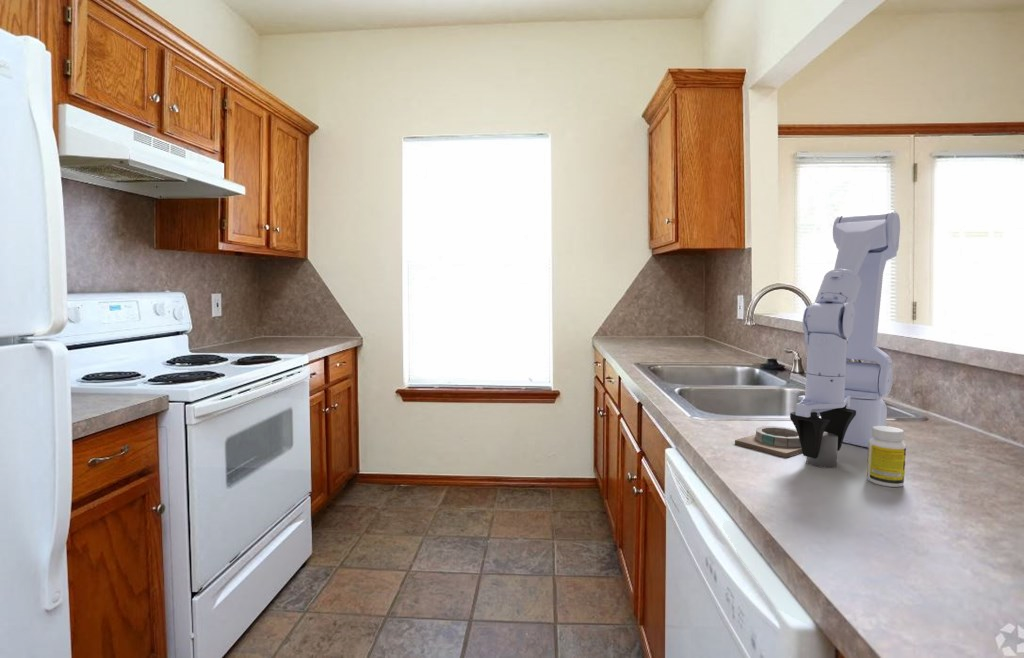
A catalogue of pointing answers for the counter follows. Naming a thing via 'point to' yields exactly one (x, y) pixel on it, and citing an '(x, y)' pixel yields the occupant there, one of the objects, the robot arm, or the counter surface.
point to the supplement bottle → (886, 456)
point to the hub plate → (773, 441)
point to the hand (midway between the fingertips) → (821, 452)
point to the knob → (826, 452)
